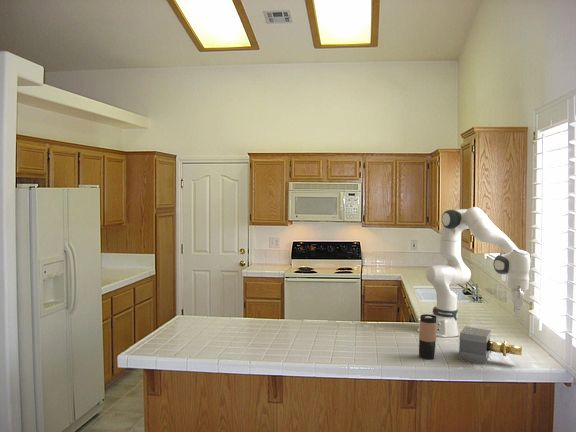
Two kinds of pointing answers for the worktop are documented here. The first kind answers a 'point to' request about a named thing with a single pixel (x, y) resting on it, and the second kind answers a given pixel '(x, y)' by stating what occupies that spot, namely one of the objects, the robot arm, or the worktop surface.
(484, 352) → the housing
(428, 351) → the travel mug
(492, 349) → the brass collar peg
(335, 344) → the worktop surface
